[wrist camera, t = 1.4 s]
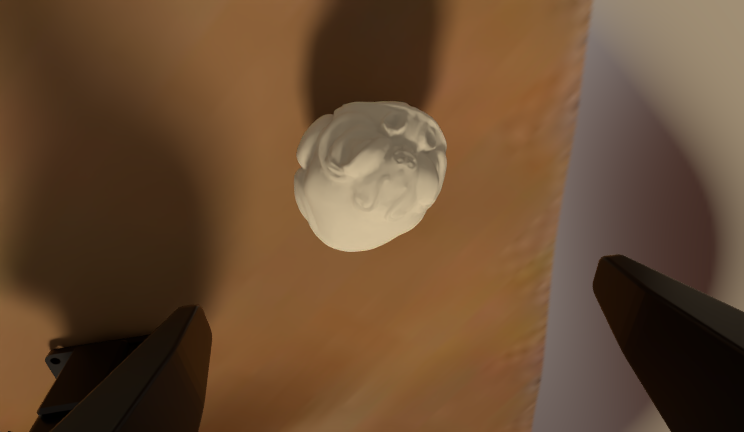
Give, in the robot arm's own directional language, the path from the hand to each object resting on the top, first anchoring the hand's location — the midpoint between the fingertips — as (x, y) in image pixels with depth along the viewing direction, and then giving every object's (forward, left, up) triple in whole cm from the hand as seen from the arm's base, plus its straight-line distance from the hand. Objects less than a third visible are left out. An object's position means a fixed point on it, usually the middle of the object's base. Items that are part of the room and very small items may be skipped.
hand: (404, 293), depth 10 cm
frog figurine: (-1, 0, -13) cm, 13 cm away
